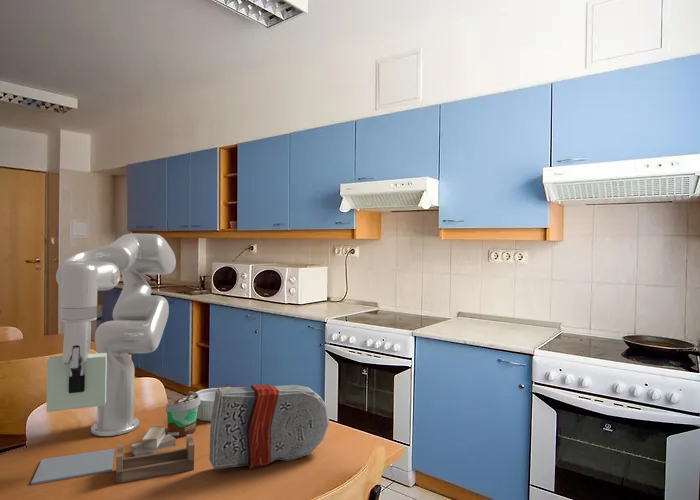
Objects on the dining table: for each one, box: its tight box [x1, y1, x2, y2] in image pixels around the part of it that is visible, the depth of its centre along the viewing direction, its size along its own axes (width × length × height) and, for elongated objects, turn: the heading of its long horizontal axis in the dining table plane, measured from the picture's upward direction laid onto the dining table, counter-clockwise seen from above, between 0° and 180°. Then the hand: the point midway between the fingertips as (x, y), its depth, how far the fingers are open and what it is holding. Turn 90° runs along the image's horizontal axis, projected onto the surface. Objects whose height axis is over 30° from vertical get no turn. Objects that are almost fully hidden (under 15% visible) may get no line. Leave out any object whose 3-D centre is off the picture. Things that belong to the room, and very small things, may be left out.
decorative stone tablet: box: [208, 384, 330, 470], centre depth 114 cm, size 19×6×30 cm
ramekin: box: [195, 387, 219, 422], centre depth 144 cm, size 13×13×7 cm
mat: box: [30, 448, 116, 486], centre depth 109 cm, size 12×16×1 cm
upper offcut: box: [141, 425, 166, 449], centre depth 119 cm, size 4×8×2 cm, turn 8°
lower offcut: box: [130, 433, 177, 456], centre depth 120 cm, size 4×10×2 cm, turn 137°
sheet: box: [46, 353, 107, 413], centre depth 109 cm, size 4×12×12 cm, turn 115°
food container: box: [165, 390, 201, 439], centre depth 130 cm, size 12×6×10 cm, turn 168°
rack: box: [115, 434, 195, 484], centre depth 108 cm, size 7×17×6 cm, turn 115°
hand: (77, 388), depth 109 cm, fingers closed on sheet, 4 cm apart
